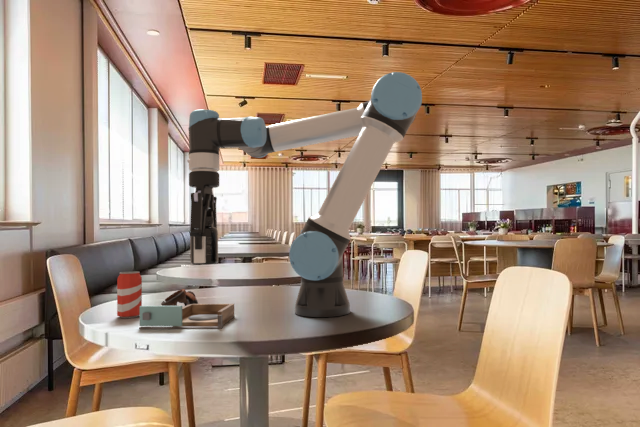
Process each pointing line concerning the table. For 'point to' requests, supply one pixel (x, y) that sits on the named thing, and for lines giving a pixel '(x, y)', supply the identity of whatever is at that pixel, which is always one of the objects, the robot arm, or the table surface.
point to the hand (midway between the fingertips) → (204, 261)
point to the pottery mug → (180, 298)
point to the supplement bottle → (207, 243)
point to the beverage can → (129, 294)
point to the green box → (160, 315)
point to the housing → (202, 317)
